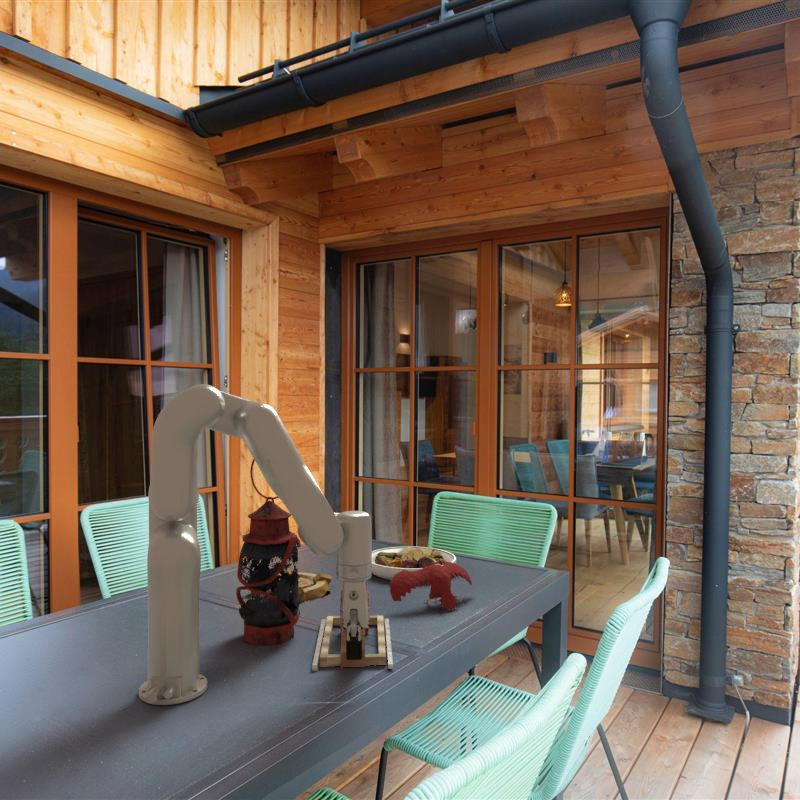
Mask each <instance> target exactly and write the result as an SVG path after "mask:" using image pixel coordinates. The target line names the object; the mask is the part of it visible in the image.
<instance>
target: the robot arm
mask: <svg viewBox="0 0 800 800" xmlns="http://www.w3.org/2000/svg"><path fill="white" fill-rule="evenodd" d="M205 429H207V430H211V431H214V432H217V433H220V434H224V435H226V436H231V437H233V438H236V439H237V438H238V439H241V440H243V442H244V444H245V445H246V447H247V449H248V451H249V453H250V455H251V457H252V458H253V459H254V460H255V461H254V462H255V463H256V464H257V467H258V468H259V470H260V472H261V474H262V476H263V477H264V481H266V483H267V485H268V486H269V487H270V489H271V490H272V492H273V494H275V496H276V497H277V496H278V498H277V499H279V500H280V501H281V502H282V503H283V505H284V506H285V507H286V509H287V510H288V511H287V512H288V513H290V514H291V517H292V518H293V520H294V522H295V523H296V525H297V534H298V535H297V536H298V538H299V540H300V541H301V542H302V543H303V544H304V545H305V546H306V547H307V548H308V549H309V550H310V551H311V552H312V553H314V554H315V555H317V556H319V557H328V556H332V555H334V554H335V556H336V558H335V559H336V560H335V561H336V563H335V564H336V565H335V567H336V568H335V569H336V579H337V580H339V581H341V586H342V587H341V590H342V601H343V617H344V627H345V628H346V629H347V640H346V659H347V660H361V659H362V639H361V630H362V627H364V628H366V627H367V626H368V590H369V588H368V580H370V579H371V578H372V576H373V575H372V574H373V573H372V551H373V550H372V543H373V542H372V517H371V515H370V513H368V512H367V511H362V510H347V511H342V512H334V510H333V508H332V507H331V505H330V503H329V502H328V499H327V498H326V497H325V494H324V493H323V491H322V490H321V488H320V486H319V485H318V483H317V482H316V480H315V478H314V476H313V474H312V473H311V471H310V469H309V467H308V466H307V465H306V462H305V460H304V459H303V458H302V455H301V454H300V452H299V450H298V449H297V447H296V444H295V443H294V441H293V439H292V437H291V436H290V434H289V432H288V430H287V428H286V426H285V425H284V422H283V420H281V417H280V416H279V414H278V412H277V410H275V409H274V408H273V406H272V405H270V404H267V403H264V402H258V401H255V400H254V401H253V400H250V399H246V398H244V397H243V398H242V397H240V396H236V395H233V394H231V393H228V392H225V391H222V390H219V389H218V388H216V387H215V386H214V385H211V384H208V383H199V384H194V385H193V386H190V387H188V388H186V389H184V390H183V391H181V392H180V393H178V394H176V395H175V396H174V397H172V398H171V399H170V400H169V401H167V403H166V404H165V405H164V406H163V408H162V409H161V410H160V412H159V414H158V415H157V418H156V420H155V422H154V425H153V428H152V436H151V448H150V449H151V450H150V451H151V452H150V453H151V455H150V484H149V487H148V494H147V495H148V496H147V497H148V546H147V557H146V561H147V564H146V569H147V570H146V571H147V574H146V575H147V576H146V577H147V680H145V681H144V682H143V683H142V684H141V685H140V686H139V688H138V697H139V699H140V701H142V702H144V703H146V704H150V705H153V706H171V705H172V706H173V705H178V704H182V703H186V702H190V701H192V700H194V699H197V698H199V697H200V696H201V695H203V694H204V693H205V692H206V691H207V689H208V679H207V678H206V676H204V675H203V674H201V673H200V631H201V630H200V627H201V626H200V621H201V620H200V617H201V616H200V615H201V614H200V613H201V612H200V593H201V592H200V590H201V589H200V586H201V585H200V584H201V565H202V563H201V562H202V554H201V553H202V552H201V546H200V542H199V539H198V503H199V499H200V490H199V485H198V453H199V452H198V450H199V447H198V446H199V440H200V437H201V435H202V433H203V431H204V430H205ZM367 588H368V589H367ZM350 630H351V631H350ZM357 630H358V631H357Z"/></svg>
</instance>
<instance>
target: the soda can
mask: <svg viewBox="0 0 800 800" xmlns="http://www.w3.org/2000/svg"><path fill="white" fill-rule="evenodd" d="M367 589H368V626H367V627H366V628H364V627H362V630H365V635H366V634H367V633H369V630H370V626H369V616H371V615H370V613H371V612H370V599H371V598H370V590H369V588H368V587H367ZM339 599H340V600H339V603H340V604H339V605H340V607H339V608H340V609H339V610H340V611H339V613H340V614H339V616H340V626H339V627H340V633H341V632H342V630H347V629H346V628H345V627H344V617H343V601H342V589H341V590H340V598H339Z"/></svg>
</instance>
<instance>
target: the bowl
mask: <svg viewBox="0 0 800 800" xmlns="http://www.w3.org/2000/svg"><path fill="white" fill-rule="evenodd" d="M445 562H452V563H455V564H457V556H455V554H454V553H452V552H451V551H447V550H443V549H438V548H435V547H429V546H427V547H425V546H391V547H385V548H378V549H375V550H372V574H373V575H374V576H376V577H379V578H381V579H385V580H389V581H391V579H392V578H393V577H394V576H395V575H396V574H397V573H399V572H401V571H402V570H407V571H418V570H421V569H423V568H424V567H426V566H431V565H439V566H443V565H444V563H445Z"/></svg>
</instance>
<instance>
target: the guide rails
mask: <svg viewBox="0 0 800 800" xmlns="http://www.w3.org/2000/svg"><path fill="white" fill-rule="evenodd" d="M320 621H321V622H320V627H319V630H318V637H317V640H316V646H315V651H314V654H313V656H314V657H313V660H312V665H311V666H312V667H311V671H312V672H318V668H319V665H320V654H321V648H322V643H323V636H324V632H325V627H326V626H325V625H326V621H327V618H324V619H323V618H322V619H321V620H320ZM390 628H391V627H390V619H389V618H384V634H385V648H386V647H387V648H386V661H387V660H388V662H387V670H388V669H393V670H394V661H393V659H394V658H393V652H392V650H393V649H392V640H391V630H390Z"/></svg>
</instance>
